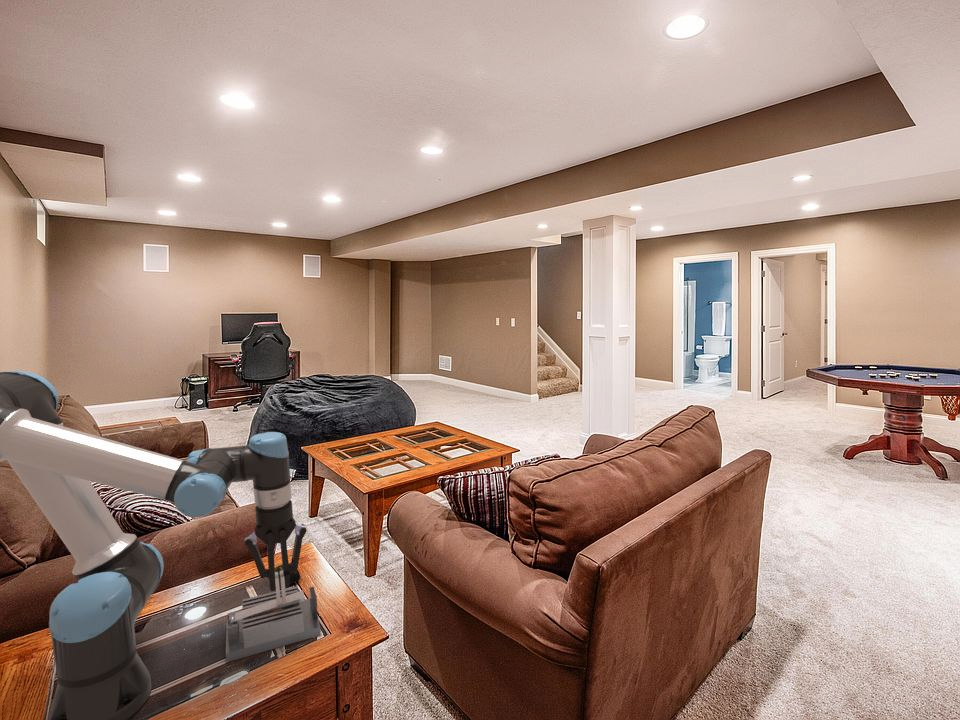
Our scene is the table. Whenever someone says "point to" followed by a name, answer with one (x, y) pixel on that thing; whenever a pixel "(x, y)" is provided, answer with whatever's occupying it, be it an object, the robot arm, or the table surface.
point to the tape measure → (293, 574)
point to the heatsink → (272, 626)
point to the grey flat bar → (265, 608)
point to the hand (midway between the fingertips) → (281, 601)
